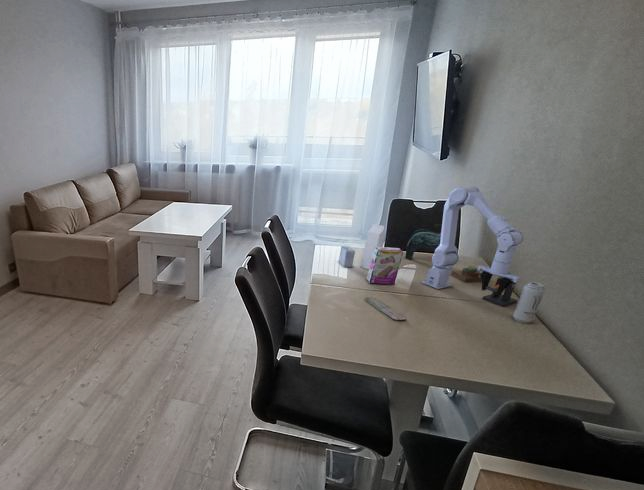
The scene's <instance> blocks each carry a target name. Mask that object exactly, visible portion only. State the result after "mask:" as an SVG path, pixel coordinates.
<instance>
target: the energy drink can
mask: <svg viewBox="0 0 644 490" xmlns="http://www.w3.org/2000/svg"><path fill="white" fill-rule="evenodd" d="M545 293H546V289H545V284H543V283H540V282H537V281H528V282H527V283H526V284H525V285H524V286H523V289H522V292H521V294H520V297H519V299H518V300H517V304H516V307H515V309H514V311H513V314H512V317H513V320H515V321H517V322H519V323H522V324H530V323H531V322H533V321H534V319H535V316H536V314H537V311H538V309H539V307H540V304H541V302H542V300H543V297H544V295H545Z"/></svg>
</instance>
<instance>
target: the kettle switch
mask: <svg viewBox="0 0 644 490" xmlns="http://www.w3.org/2000/svg"><path fill="white" fill-rule="evenodd" d="M498 288H499V285H496V286H495V285H494V286H492V287H491V286H489V285H488V286H485V289H486V290H487V291H491V292H496V293H497V291H498V290H497V289H498Z"/></svg>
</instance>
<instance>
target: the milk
mask: <svg viewBox="0 0 644 490" xmlns="http://www.w3.org/2000/svg"><path fill="white" fill-rule="evenodd" d="M386 235H387V231H386V229H385V225H381V224H376V223H372V225H371V227H370V228H369V229H368V231H367V235H366V240H365V244H364V248H363V253H362V257H361V263H360V268H362V269H365V270H368V271H369V267H370V263H371V259H372V255H373V251H374V247H384V243H385V240H386V239H385V238H386Z"/></svg>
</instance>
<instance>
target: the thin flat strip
mask: <svg viewBox="0 0 644 490" xmlns="http://www.w3.org/2000/svg"><path fill="white" fill-rule="evenodd" d="M365 301H367V302H368V303H369V304H370V305H372V306H373V307H374V308H376V309H377V310H379V311H380V312H382V313H383V314H385V315H386V316H388V317H389V318H391V319H393V320H396V321H397V320H399V321H400V320H401V321H402V320H406V317H404V316H402V315H401V314H400V313H398V312H397V311H395V310H394V309H392V308H390V307H389V306H388V305H385V304H384V303H383V302H381V301H379V300H378V299H377V298H376V297H367V298H365Z"/></svg>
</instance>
